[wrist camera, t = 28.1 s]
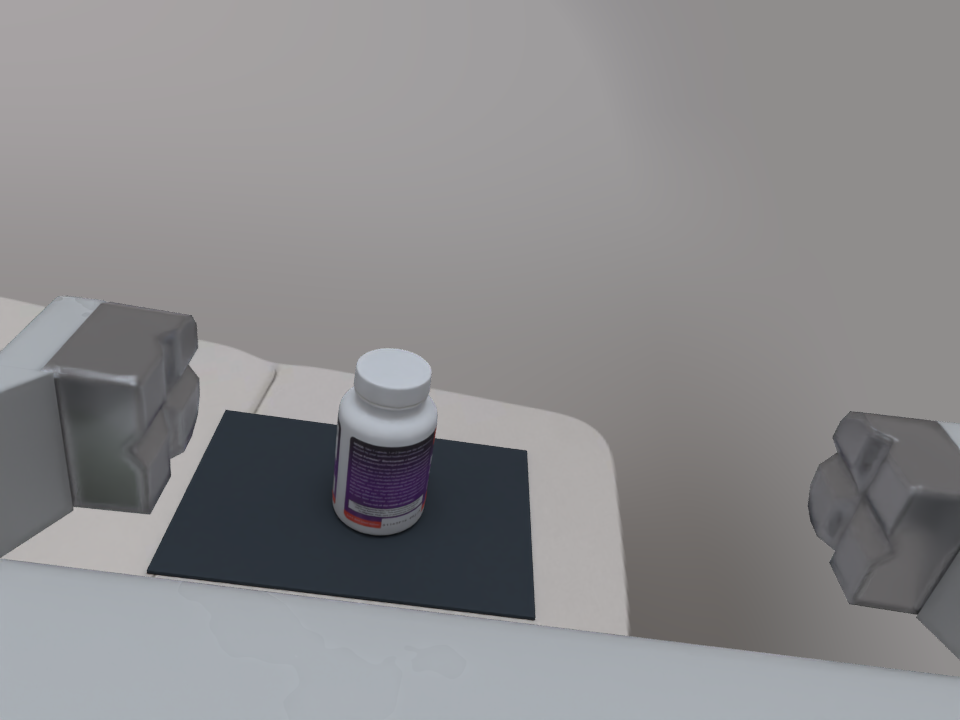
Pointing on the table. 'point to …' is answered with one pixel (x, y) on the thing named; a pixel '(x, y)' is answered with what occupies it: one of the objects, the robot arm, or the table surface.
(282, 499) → the mat
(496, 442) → the table surface
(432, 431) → the pill bottle
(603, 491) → the table surface
